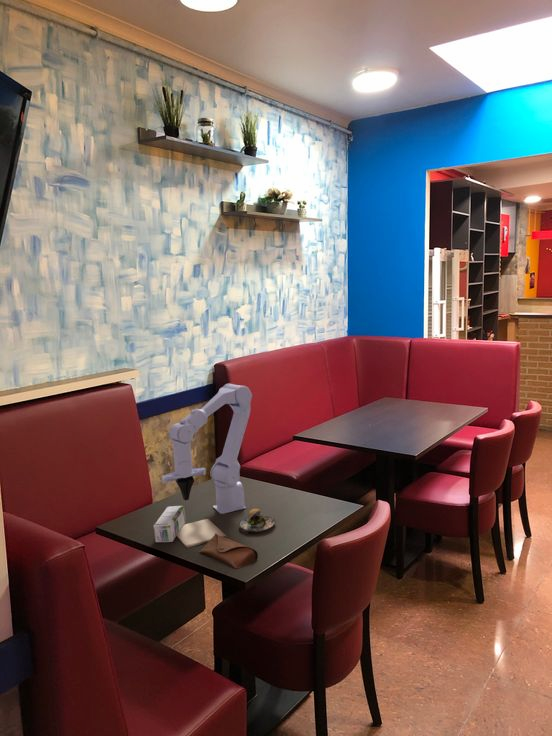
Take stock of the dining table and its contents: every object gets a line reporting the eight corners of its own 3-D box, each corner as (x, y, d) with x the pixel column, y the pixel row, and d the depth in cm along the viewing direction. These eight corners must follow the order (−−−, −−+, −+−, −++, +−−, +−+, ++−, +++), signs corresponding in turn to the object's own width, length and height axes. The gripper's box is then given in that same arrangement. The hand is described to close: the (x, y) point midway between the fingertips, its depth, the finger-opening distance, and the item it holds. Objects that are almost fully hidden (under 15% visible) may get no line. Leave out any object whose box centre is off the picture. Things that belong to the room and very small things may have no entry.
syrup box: (186, 521, 194) (173, 542, 180) (169, 521, 195) (155, 543, 181) (183, 505, 193) (170, 525, 179) (166, 506, 194) (152, 526, 180)
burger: (245, 538, 182) (244, 515, 180) (234, 524, 192) (232, 503, 191) (281, 531, 186) (280, 508, 185) (268, 517, 197) (267, 496, 196)
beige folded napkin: (207, 520, 197) (207, 518, 196) (226, 537, 182) (226, 535, 182) (170, 529, 191) (170, 527, 190) (187, 547, 177) (186, 546, 176)
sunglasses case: (195, 551, 174) (202, 529, 175) (211, 555, 178) (218, 534, 180) (237, 569, 161) (245, 545, 163) (253, 573, 166) (260, 549, 168)
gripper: (199, 452, 198) (202, 490, 200) (157, 460, 192) (161, 500, 194) (207, 457, 192) (209, 497, 194) (164, 466, 186) (167, 506, 188)
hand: (186, 499), depth 194 cm, fingers closed
